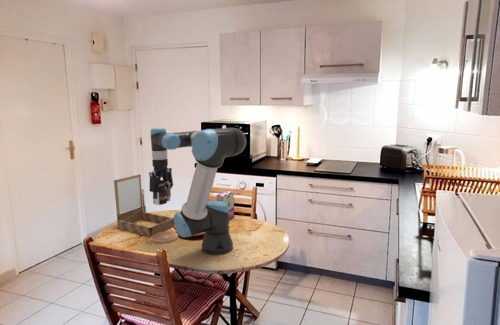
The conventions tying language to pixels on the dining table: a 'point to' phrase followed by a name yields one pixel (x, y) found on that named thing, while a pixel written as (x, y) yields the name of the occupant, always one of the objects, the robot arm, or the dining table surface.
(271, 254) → the dining table surface
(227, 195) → the candy bar box
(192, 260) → the dining table surface
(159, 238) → the saucer
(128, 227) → the cold frame
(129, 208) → the lid
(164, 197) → the mug
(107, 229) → the dining table surface
